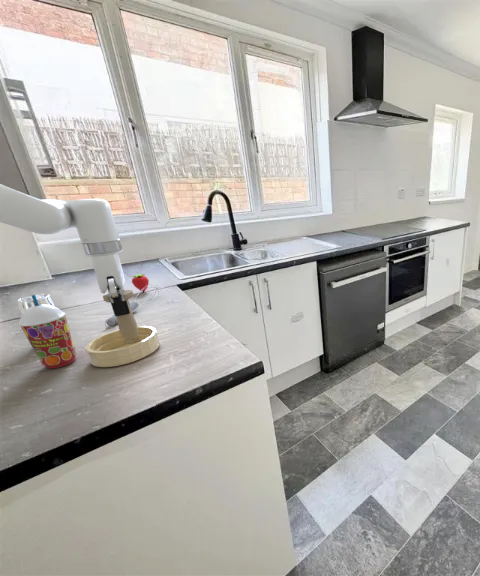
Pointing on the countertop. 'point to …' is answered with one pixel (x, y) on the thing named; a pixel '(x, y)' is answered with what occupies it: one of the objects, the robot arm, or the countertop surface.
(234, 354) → the countertop surface
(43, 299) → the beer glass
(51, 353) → the smoothie
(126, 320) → the handle
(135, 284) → the strawberry
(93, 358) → the bowl
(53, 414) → the countertop surface
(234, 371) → the countertop surface
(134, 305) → the kitchen whisk
